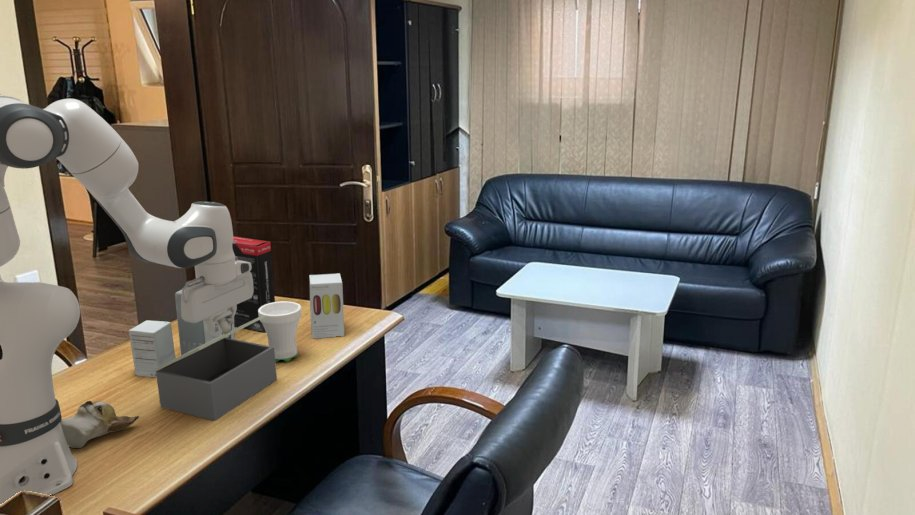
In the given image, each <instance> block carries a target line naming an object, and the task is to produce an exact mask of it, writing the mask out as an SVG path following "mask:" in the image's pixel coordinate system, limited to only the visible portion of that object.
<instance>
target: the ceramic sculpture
mask: <svg viewBox="0 0 915 515" xmlns="http://www.w3.org/2000/svg"><path fill="white" fill-rule="evenodd" d="M139 417H140V416H139V415H137V416H127V415H122V416H117V414H116V411H115V408H114V407H113V406H112V405H111V404H109V403H108V402H105V401H100V400H97V401H94V402H93V401H92V400H87V401H85V402H84V403H82V404H80V405H79V407H78V409H77V411H76V413H75V415H73V416H70V417H68V418H62V419H61V427H62V430H63V433H64V436H65V439H66V442H67V444H68V447H69V448H70V449H71V448H72V449H81V448H83V447H84V446H85V445H86V443H87V442H88V441H90V440H92V439H96V438H100V437H101V436H105V435H107V434H109V433H112V432H113V433H114V432H119V431H122V430H125V429H126V428H128V427H130V426H131V425H132V424H134V423H135V421H137V420H138V419H139Z"/></svg>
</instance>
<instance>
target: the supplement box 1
mask: <svg viewBox="0 0 915 515" xmlns="http://www.w3.org/2000/svg"><path fill="white" fill-rule="evenodd" d="M128 332H129V333H128V334H129V340H130V347H131V354H132V361H133V362H132V363H133V368H134V373H135V376H138V377H146V378H156V379H157V377H156V371H155V369H156V368H158V367H160V366H162V365H164V364H166V363H168V362H170V361H172V360H174V359H176V358H177V357H176V352H175V350H176V349H175V343H174V337H173V336H174V335H173V329H172V323H171V322H170V321H163V320H161V321H160V320H147V319H146V320H145V321H144V320H143V322H141V323H140V324H138V325H136V326H134V327H132V328H130V329H129V330H128Z"/></svg>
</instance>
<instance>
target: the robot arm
mask: <svg viewBox="0 0 915 515" xmlns="http://www.w3.org/2000/svg"><path fill="white" fill-rule="evenodd" d="M54 159H56V160H58V161H59V162H60V163H61V164H62V165H63V167H64V168H65V169H66V170H67V171H68V172H69V173H70V174H71V175H72V176H73V177H74V178H75V179H76V180H77V181H78V182H79V183H80V184H81V185H82V186H83V187H84V188H85V189H86V190H87V192H89V193H90V194H91V196H92V197H93V198H94V200H95V201H96V202H97V203H98V205H99V206H100V207H101V208H102V210H104V212H105V213H106V214H107V215H108V217H109V218H111V220H112V221H113V223H114V224H115V225H116V226H117V227H118V229H119V230H120V231H121V233H122V234H123V236H124V239H125V241H126V245H127V247H128V249H129V251H130V253H131V254H132V256H133V257H135V258H136V259H137V260H139V261H141V262H144V263H150V264H151V263H152V264H159V265H162V266H163V265H164V266H167V267H173V268H176V269H190V268H193V267H194V271H195V278H194V279H192V280H188V281H186V282H185V284H184V286H183V287H182V288H181V290H182V296H181V317H182V319H183V320H184V321H185V322H190V323H197V322H199V321H202V320H203V321H204V322H205V323H206V325H207V326H208V332H209V333H215V332H217V331H218V324H214V322H213V320H212V319H214V315H215V314H217V313H219V312H221V311H224V310H226V309H227V311H228V310H231V312H232V314H230V315H228V316H226V317H224V318H225V319H226V321H227V323H228V325H231V324H233V323H234V316H235V313H236V310H237V304H239V303H241V302H243V301H245V300H248V299H250V298H251V297H252V295H253V292H254V289H253V278H252V274H251V272H249V271H250V270H251V263H250V262H246V261H240V260H235V254H234V252H233V248H232V243H233V236H234V231H233V224H232V217H231V214H230V210H229V209H228V207H227V206H226V205H225V204H224V203H220V202H216V201H202V200H201V201H200V200H199V201H195V202H192V203H191V205H190V208H189V209H188V210H187V211H186V213H184V214H183V215H182V216H180V217H179V218H178V219H176V220H174V221H172V220H167V219H163V218H161V217H157V216H154V215H152V214H150V213H149V212H147V211H146V210H145V208H144V207H143V206H142V204H140V202H139V201H138V200H137V199H136V197H135V196H134V194H133V193H132V192H131V190H130V189H129V188H130V187H131V186H132V185H133V183H134V182H135V181H136V179H137V178H138V177H137V176H138V174H139V167H140V166H139V162H138V159H137V157H136V156H135V154H134V152H133V151H132V149H131V147H130V146H129V145H128V144H127V143H126V141H125V140H124V139H123V138H122V136H120V134H119V133H118V132H117V131H116V130H115V129H114V128H113V126H111V125H110V123H108V122H107V121H106V120H105V119H104V118H103V117H102V116H100V114H98V113H97V112H96V111H95V110H94V109H92V108H91V107H90V106H89V105H88V104H87V103H85V102H83V101H82V100H79V99H76V98H63V99H59V100H55V101H54V102H51V103H50V104H49V105H47V106H46V107H45V108H41V107H38V106H36V105H35V106H34V105H33V104H29V103H27V102H25V101H23V100H21V99H18V98H16V97H13V96H8V95H4V94H0V268H1V267H3V266H4V265H6V264H8V263H9V262H10V261H11V260H13V259H14V258H15V256H16V255H17V254H18V252H19V250H20V246H21V240H20V236H19V232H18V229H17V225H16V222H15V219H14V215H13V212H12V207H11V205H10V201H9V198H8V195H7V192H6V190H5V175H6V172H7V170H8V168H9V167H10V168H14V169H22V170H23V169H33V168H37V167H40V166H43V165H45V164H46V163H49V162H50V161H52V160H54ZM80 316H81V309H80V303H79V301H78V298H77V296H76V295H75V294H74V292H73V291H72V290H71V289H70V288H67V287H65V286H62V285H61V286H60V285H56V284H51V283H46V282H42V281H41V282H40V281H39V282H32V281H31V282H29V281H28V282H26V281H25V282H23V281H22V282H19V281H18V282H16V281H15V282H11V281H10V282H8V281H4V280H3V279H2V277H1V275H0V347H1V350H2V357H1V359H0V504H2V503H4V502H5V501H6V500H8V499H9V498H11V497H12V496H14V495H15V494H16V493H18V492H20V491H24V490H25V491H32V492H37V493H42V494H47V495H50V494H53V495H55V494H57V493H60V492H62V491H64V490H65V489H67V488H69V487H71V486H72V485H73V483H74V479H73V475H74V474H75V472H76V471H77V468H78V462H77V460H76V458H75V457H74V455H73V454H72V451H71V448H70V447H69V446H68V444H67V442H66V439H65V436H64V433H63V430H62V427H61V419H63V417H62V413H61V412H62V411H61V407H60V403H59V401H58V399H57V398H56V394H55V388H54V381H53V374H52V373H53V370H52V366H53V365H52V364H53V359H54V355H55V353H56V350H57V349H58V347H59V345H61V343H62V342H63V341H64V340H66V338H68V337H69V336H70V335H71V334H72V333H73V332H74V330H75V329H76V328H77V326H78V323H79V320H80Z"/></svg>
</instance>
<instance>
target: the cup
mask: <svg viewBox="0 0 915 515" xmlns="http://www.w3.org/2000/svg"><path fill="white" fill-rule="evenodd" d="M258 315H259V317H260V316H262V315H265V317H264V318H262V319H260V321H261V323H262V324H263V326H264V328H265V333H266V336H267V342H268V346H271V347H274V352H275V363H278V362H279V361H281V360H283V361H284V362H287V363H288V362H290V361H291V359H294V358H295V359H296V358H297V357H298V354H299V353H298V345H297V329H298V324H299V321H300V319H301V317H302V305H301V304H299V303H298V302H294V301H285V300H283V301H282V300H281V301H280V300H279V301H275V302H273V303H268V304H265V305H263V306H261V307H260V308H259V309H258Z"/></svg>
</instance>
